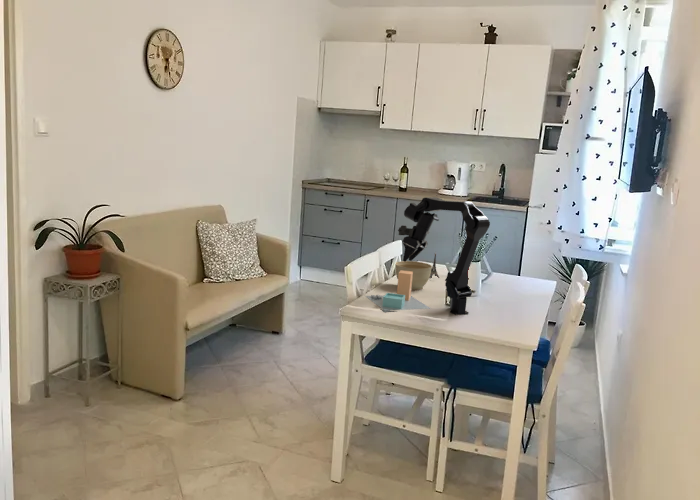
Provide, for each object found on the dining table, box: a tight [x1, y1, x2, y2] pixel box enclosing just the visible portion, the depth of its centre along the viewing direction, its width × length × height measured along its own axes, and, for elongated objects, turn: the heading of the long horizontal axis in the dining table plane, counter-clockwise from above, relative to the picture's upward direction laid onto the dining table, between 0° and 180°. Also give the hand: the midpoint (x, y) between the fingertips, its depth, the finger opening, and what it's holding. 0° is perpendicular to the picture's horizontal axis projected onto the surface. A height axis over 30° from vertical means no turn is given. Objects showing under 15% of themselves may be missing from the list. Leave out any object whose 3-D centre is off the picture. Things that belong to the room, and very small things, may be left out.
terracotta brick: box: [396, 270, 413, 301], centre depth 251 cm, size 5×5×11 cm
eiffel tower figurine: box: [429, 252, 440, 279], centre depth 297 cm, size 15×10×13 cm
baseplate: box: [365, 292, 432, 313], centre depth 246 cm, size 20×20×4 cm
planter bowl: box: [394, 260, 433, 291], centre depth 272 cm, size 16×16×11 cm
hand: (406, 260), depth 254 cm, fingers open, 9 cm apart
